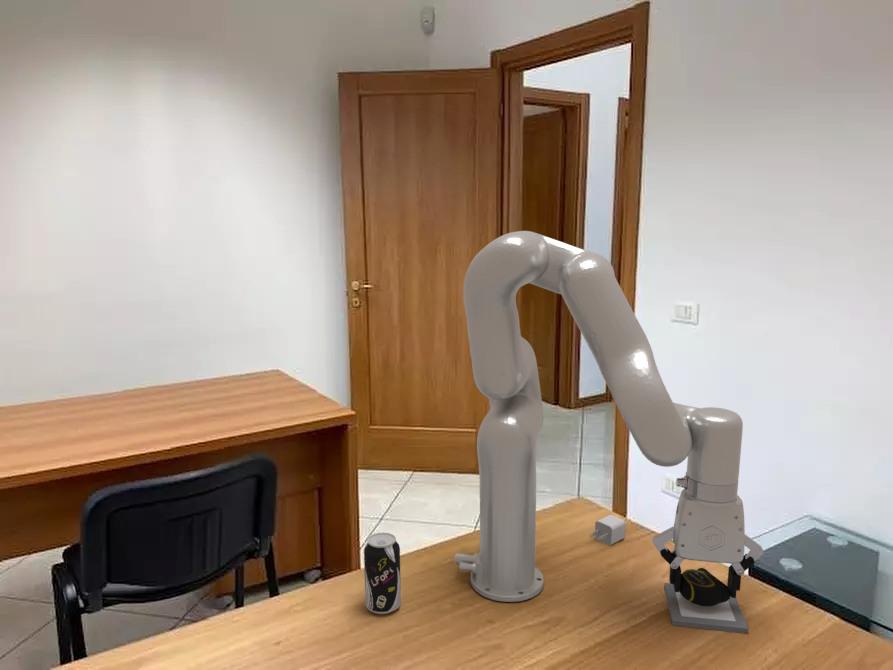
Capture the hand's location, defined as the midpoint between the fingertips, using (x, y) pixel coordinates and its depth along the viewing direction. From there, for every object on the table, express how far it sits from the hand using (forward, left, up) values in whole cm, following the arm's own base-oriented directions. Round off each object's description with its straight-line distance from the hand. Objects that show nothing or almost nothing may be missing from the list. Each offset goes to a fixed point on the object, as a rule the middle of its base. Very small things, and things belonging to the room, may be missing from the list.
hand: (703, 590), depth 109 cm
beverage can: (-51, -9, -4) cm, 52 cm away
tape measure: (0, +1, -2) cm, 2 cm away
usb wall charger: (-15, +20, -4) cm, 25 cm away
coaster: (0, 0, -3) cm, 3 cm away
